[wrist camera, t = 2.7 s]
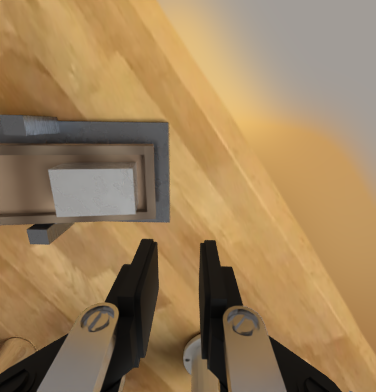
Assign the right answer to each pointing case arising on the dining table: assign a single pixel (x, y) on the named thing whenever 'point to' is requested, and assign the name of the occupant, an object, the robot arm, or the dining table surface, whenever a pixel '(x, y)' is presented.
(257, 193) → the dining table surface
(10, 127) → the pivot stand
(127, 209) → the steel block
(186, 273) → the dining table surface
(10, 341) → the beer glass
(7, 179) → the long rimmed wooden tray
